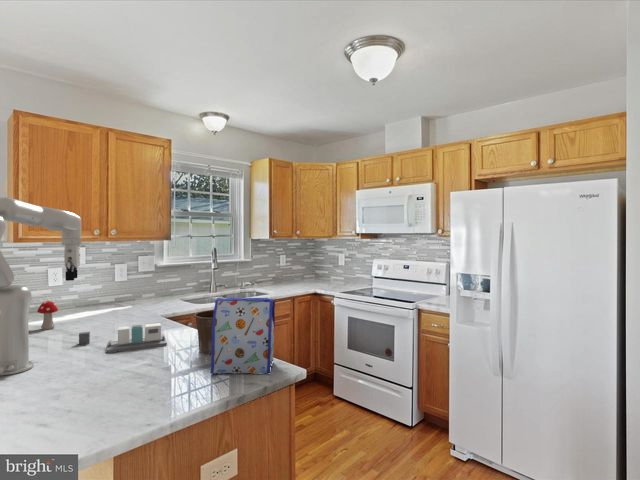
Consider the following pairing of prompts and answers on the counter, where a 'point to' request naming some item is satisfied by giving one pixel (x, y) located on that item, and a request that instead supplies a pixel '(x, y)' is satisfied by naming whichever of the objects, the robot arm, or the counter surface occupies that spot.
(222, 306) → the lunch bag
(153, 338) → the block
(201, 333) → the plant pot
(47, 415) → the counter surface
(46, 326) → the decorative mushroom
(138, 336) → the teal module
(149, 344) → the board
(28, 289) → the robot arm
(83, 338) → the grey rectangular block
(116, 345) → the metal rail
